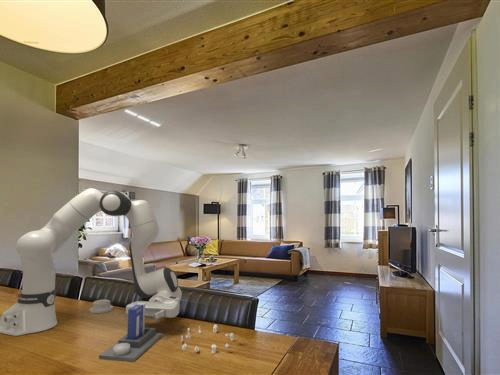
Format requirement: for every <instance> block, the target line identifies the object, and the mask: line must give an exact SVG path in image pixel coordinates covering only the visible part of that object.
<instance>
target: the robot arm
mask: <svg viewBox="0 0 500 375" xmlns="http://www.w3.org/2000/svg"><path fill="white" fill-rule="evenodd" d="M99 212H103V213H104V214H105V215H107V216H112V217H122V216H123V217H126V218H127V220H128V223H129V225H130V228H131V232H132V234H131V236H132V237H131V241H130V242H129V246H128V249H129V257H130V264H131V270H132V277H133V278H132V279H133V290H134V293H135V294H136V295H137V296H138V297H140V298H142V299H146V298H147V299H148V298H149V297H151V296H152V297H151V298H149V300H148V301H146V300H145V301H144V300H137V301H134V302H133V301H132V302H131V303H129V304H127V305H126V306H125V314H126V315H127V316H128V309H130V308H131V307H133V306H135V305H136V304H138V303H145V317H152V319H153V320H157V319H159V318H169V319H171V318H175V317H177V316H178V315H179V313H180V308H181V307H180V305H181V304H180V302H181V300H182V296H183V295H182V290H181V288H180V287H179V280H178V277H177V274H176V272H175V271H174V270H173V269H172V268H170V267H169V266H165V267H161V268H158V269H157V270H154V271H150V272H148V273H147V272H146V270H145V263H144V256H143V255H144V252H145V250H146V249H147V248H148V247H149V246H150V245H151V244H152V243H154V242H155V241H156V239H158V236H159V233H160V229H159V228H160V227H159V224H158V221H157V218H156V216H155V214H154V211H153V209H152V207H151V205H150V203H149V202H148V201H147V200H144V199H137V200H132V199H131V197H130V196H129V195H127V194H126V193H125V192H123V191H121V190H108V191H105V192H104V193H102V192H101V191H100V190H99V189H97V188H94V187H93V188H92V187H89V188H87V189H85V190H83V191H81V192H80V193H78V194H76V196H73V198H71V199H70V200H69V201H68V202H67V203H65V204H64V205H63V206H62V207H61V208H60V209H59V210H57V211H56V212H55V213H54V214H53V215H52V218H50V220H49V221H48V222H47V223H46V224H45V225H44V226H43V227H41V229H38V230H32V231H28V232H27V233H25V234H23V235H22V236H20V238H18V239H17V241H16V244H15V250H16V253H17V254H18V255H19V258H20V262H21V270H22V288H21V293H19V294H15V296H14V297H15V298H16V299H17V301H16V302H15V303H14V304H13V305H12V306H10V307H8V308H7V309H6V310H5V311H3V313H2V314H1V317H0V334H5V335H9V336H13V337H18V336H23V335H26V334H27V335H28V334H33V333H38V332H43V331H46V330H49V329H52V328H53V327H55V326H57V325H58V320H57V316H56V306H55V305H56V304H55V301H56V298H57V297H56V296H57V295H56V294H57V289H56V272H57V271H56V268H55V265H54V261H53V260H54V259H53V254H54V253H56V252H57V251H59V249H61V248H62V247H63V246H64V245H65V244H66V242H68V241H69V239H70V238H71V237H72V236H73V235H74V234H75V233H77V231H78V230H79V229H80V228H82V227H83V226H84V225H85V224H86V223H88V221H90V220H91V219H92V218H93V217H94V216H95V215H97V214H98V213H99Z"/></svg>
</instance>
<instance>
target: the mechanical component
mask: <svg viewBox="0 0 500 375" xmlns="http://www.w3.org/2000/svg"><path fill="white" fill-rule="evenodd" d="M112 310H114V306H113V304H111V300H109V299H97V300H94V301H93V302H92V307H90V308H89V313H90V314H104V313H108V312H111V311H112Z"/></svg>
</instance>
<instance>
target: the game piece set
mask: <svg viewBox="0 0 500 375" xmlns="http://www.w3.org/2000/svg"><path fill="white" fill-rule="evenodd" d="M218 328H219V326H218V325H217V324H214V325H213V330H212V331H213V333H214V334H216V333H217V331H218ZM198 329H199V330H197V331H198V334H199V335H200V334H202V333H203V332H202V331H201V326H198ZM190 331H191V329H190V327H188V328H187V334H185V338H187V339H188V338H191V337H192V334H191V333H190ZM234 335H235V334H234V333H233V332H231V333H230V332H229V333H225V335H224V336H225V337H228V336H229V337H230V341H231V342H233V341H234V338H235V336H234ZM180 338H181V340H180V341H181V343H183V342H184V335H180ZM181 348H182V349H181V350H182V351H187V350H188V344H187V343H185V342H184V343H183V344H182V346H181ZM225 348H226V349H229V348H230V345H229V344H228V343H226V344H225ZM211 349H212V350H211V354H216V353H217V351H216V349H217V345H216V344H212V345H211ZM193 352H195V354H197V352H200V348H199V347H198V346H197V345H196V346H195V348H194V350H193Z"/></svg>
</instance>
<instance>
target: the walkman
mask: <svg viewBox="0 0 500 375" xmlns="http://www.w3.org/2000/svg"><path fill="white" fill-rule="evenodd" d="M145 319H146V316H145V303H138V304H136V305H135V306H133V307H131V308H130V309H128V315H127V333H126V335H127V339H131V340H137V339H139V338H140V337H141V336H143V335H144V329H145V328H146V325H145V324H146V320H145Z"/></svg>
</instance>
